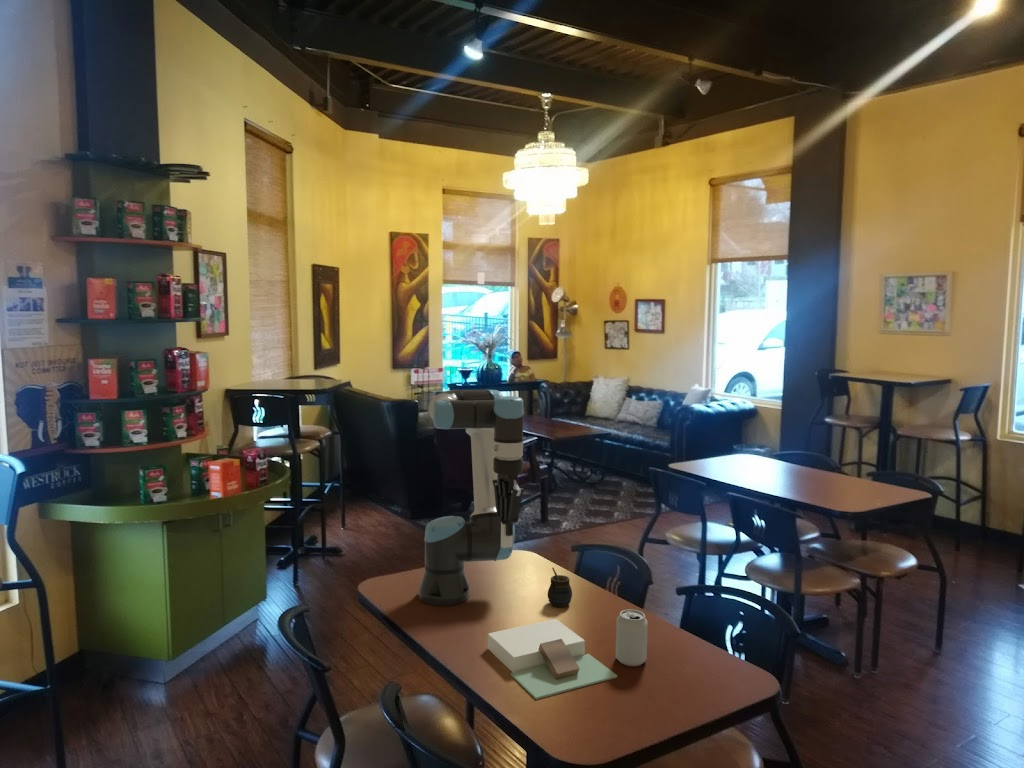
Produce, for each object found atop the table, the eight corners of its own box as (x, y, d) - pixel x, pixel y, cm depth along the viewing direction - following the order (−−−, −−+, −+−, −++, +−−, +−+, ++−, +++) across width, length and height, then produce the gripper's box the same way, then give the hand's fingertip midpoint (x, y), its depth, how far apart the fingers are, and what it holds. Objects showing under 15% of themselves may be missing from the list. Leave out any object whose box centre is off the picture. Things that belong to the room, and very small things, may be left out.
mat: (510, 675, 170) (510, 673, 170) (588, 655, 180) (588, 653, 180) (535, 699, 159) (536, 697, 159) (617, 677, 169) (617, 675, 169)
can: (627, 670, 173) (629, 622, 171) (609, 657, 179) (610, 610, 178) (652, 664, 176) (654, 616, 175) (633, 651, 183) (635, 605, 182)
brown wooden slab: (538, 649, 174) (540, 643, 173) (559, 644, 176) (561, 638, 175) (555, 679, 167) (557, 673, 166) (577, 674, 170) (579, 668, 169)
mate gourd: (559, 611, 206) (559, 577, 205) (541, 603, 212) (541, 570, 211) (577, 605, 211) (577, 571, 210) (558, 597, 216) (559, 565, 215)
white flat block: (487, 648, 183) (488, 633, 182) (555, 633, 192) (555, 618, 192) (513, 673, 170) (514, 657, 170) (584, 655, 180) (584, 640, 179)
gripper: (483, 453, 188) (482, 541, 191) (506, 463, 177) (505, 556, 179) (509, 451, 192) (507, 537, 194) (533, 460, 181) (531, 552, 183)
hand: (506, 546), depth 187 cm, fingers closed
